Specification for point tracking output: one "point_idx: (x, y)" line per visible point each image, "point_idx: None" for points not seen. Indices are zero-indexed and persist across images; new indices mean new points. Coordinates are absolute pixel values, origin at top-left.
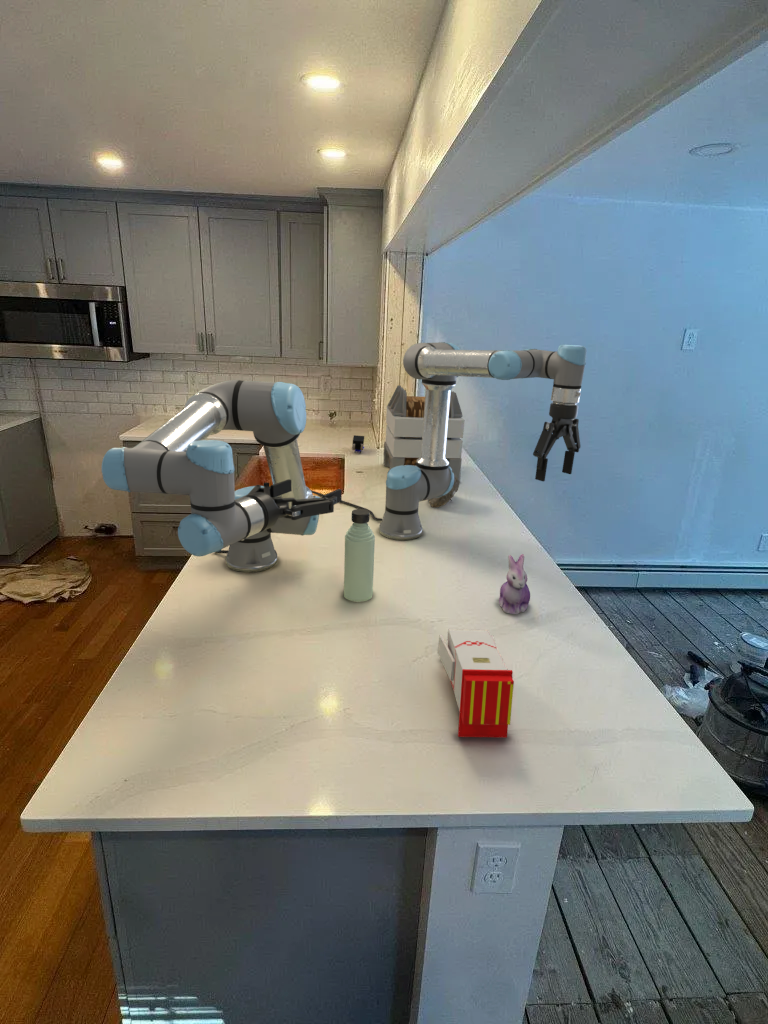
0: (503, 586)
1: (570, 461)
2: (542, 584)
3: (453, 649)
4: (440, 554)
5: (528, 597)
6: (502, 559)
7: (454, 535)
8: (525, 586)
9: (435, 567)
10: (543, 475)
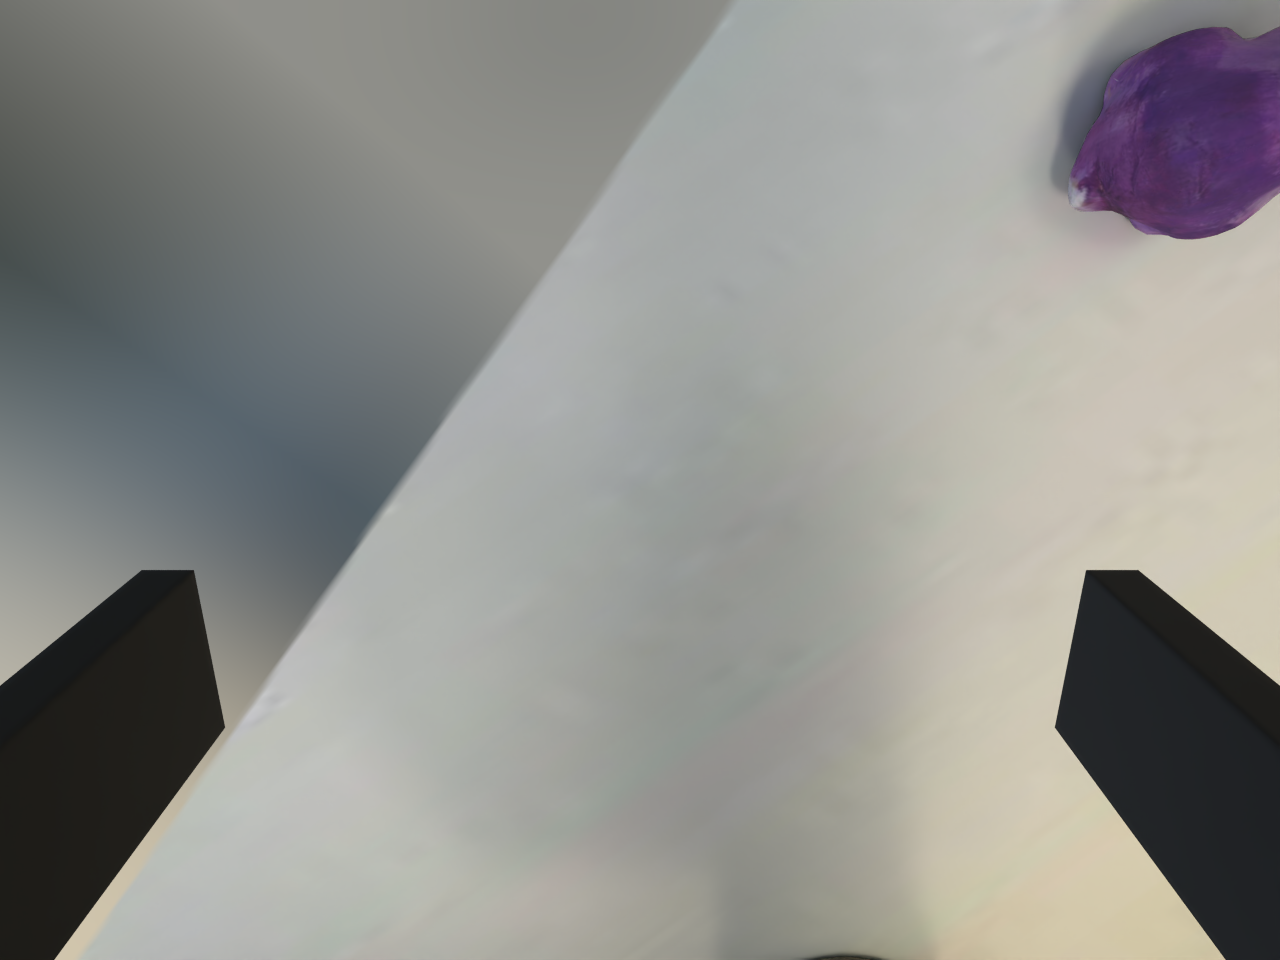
0: (1274, 196)
1: (28, 772)
2: (771, 196)
3: None
4: (897, 776)
5: (1215, 27)
6: (669, 555)
7: (628, 888)
8: (1254, 57)
9: (1056, 690)
10: (1213, 641)
